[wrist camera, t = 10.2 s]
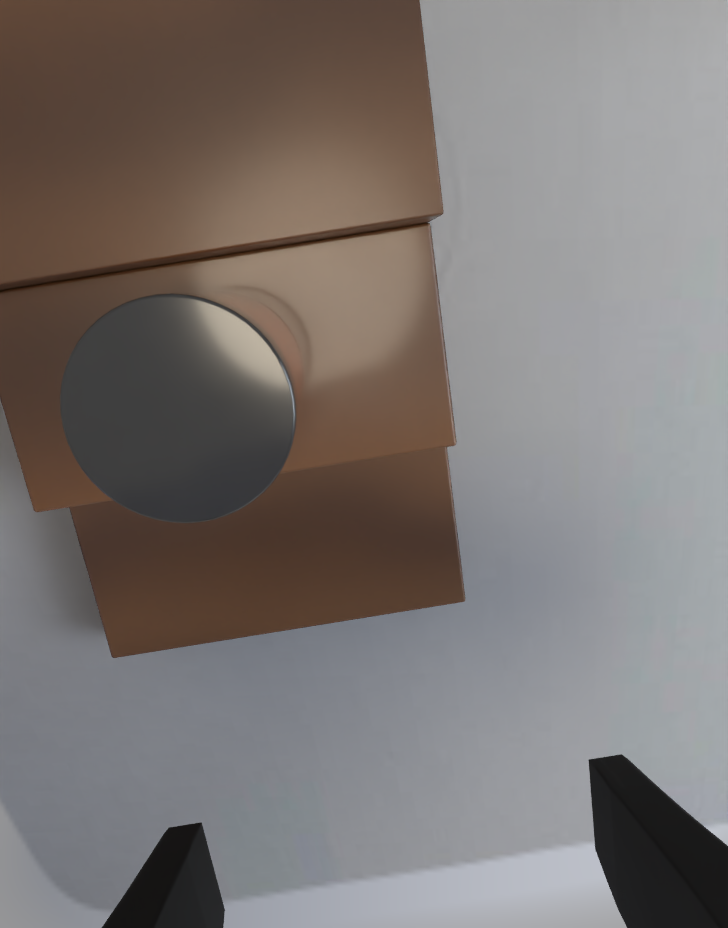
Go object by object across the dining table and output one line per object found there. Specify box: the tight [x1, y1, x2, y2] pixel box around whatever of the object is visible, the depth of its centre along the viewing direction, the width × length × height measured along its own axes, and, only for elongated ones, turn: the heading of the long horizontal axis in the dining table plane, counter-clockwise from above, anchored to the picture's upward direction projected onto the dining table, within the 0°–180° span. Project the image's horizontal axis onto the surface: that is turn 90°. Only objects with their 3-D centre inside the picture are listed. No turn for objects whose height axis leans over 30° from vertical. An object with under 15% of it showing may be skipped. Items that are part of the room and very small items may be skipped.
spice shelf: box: [0, 0, 465, 658], centre depth 17 cm, size 16×11×6 cm, turn 9°
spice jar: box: [60, 291, 304, 523], centre depth 14 cm, size 4×4×5 cm
